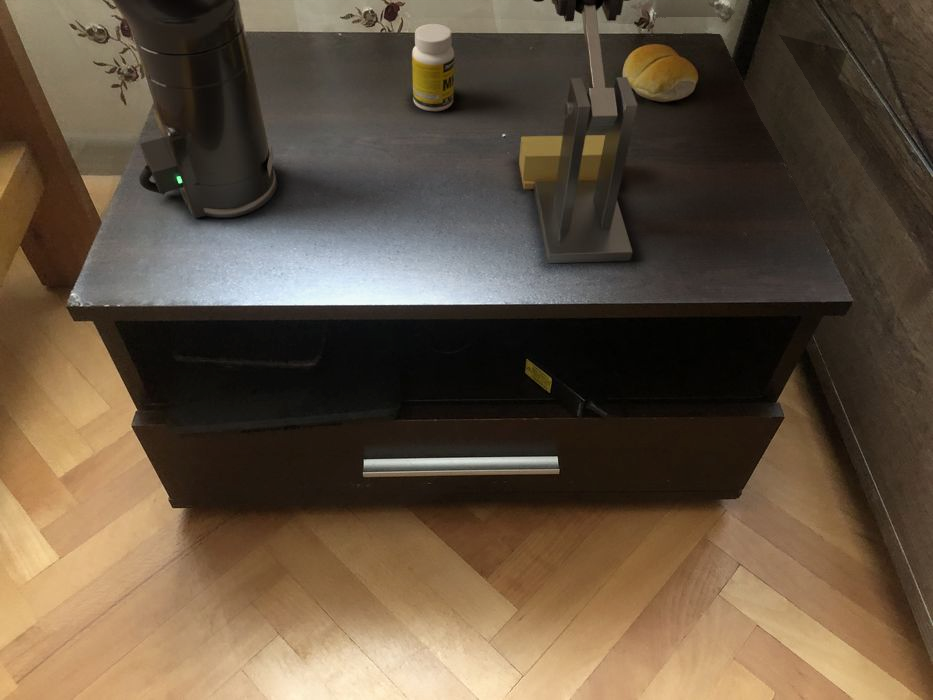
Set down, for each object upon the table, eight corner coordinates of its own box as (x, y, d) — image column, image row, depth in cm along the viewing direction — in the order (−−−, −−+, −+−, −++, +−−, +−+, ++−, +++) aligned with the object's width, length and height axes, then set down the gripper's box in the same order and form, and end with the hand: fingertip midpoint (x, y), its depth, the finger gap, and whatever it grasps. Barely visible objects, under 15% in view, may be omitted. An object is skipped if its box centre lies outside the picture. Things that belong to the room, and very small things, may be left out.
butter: (518, 163, 84) (520, 133, 81) (611, 161, 84) (617, 131, 82) (522, 189, 81) (525, 159, 78) (619, 187, 82) (625, 157, 79)
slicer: (533, 190, 81) (548, 57, 70) (609, 188, 82) (636, 56, 70) (547, 263, 74) (566, 129, 63) (630, 261, 74) (664, 128, 63)
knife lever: (565, -7, 73) (571, -32, 70) (598, -7, 73) (606, -33, 70) (580, 134, 69) (587, 113, 66) (615, 133, 69) (624, 112, 66)
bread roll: (661, 58, 99) (668, 28, 95) (705, 94, 93) (714, 63, 90) (606, 72, 96) (612, 42, 93) (648, 110, 91) (655, 79, 88)
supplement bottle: (448, 115, 89) (449, 46, 83) (408, 109, 90) (406, 40, 83) (457, 92, 92) (458, 24, 86) (418, 87, 93) (417, 19, 86)
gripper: (498, -107, 77) (516, -32, 66) (637, -108, 78) (679, -33, 67) (494, -30, 83) (511, 52, 72) (625, -31, 84) (661, 49, 73)
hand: (592, 10), depth 69 cm, fingers closed on knife lever, 3 cm apart
